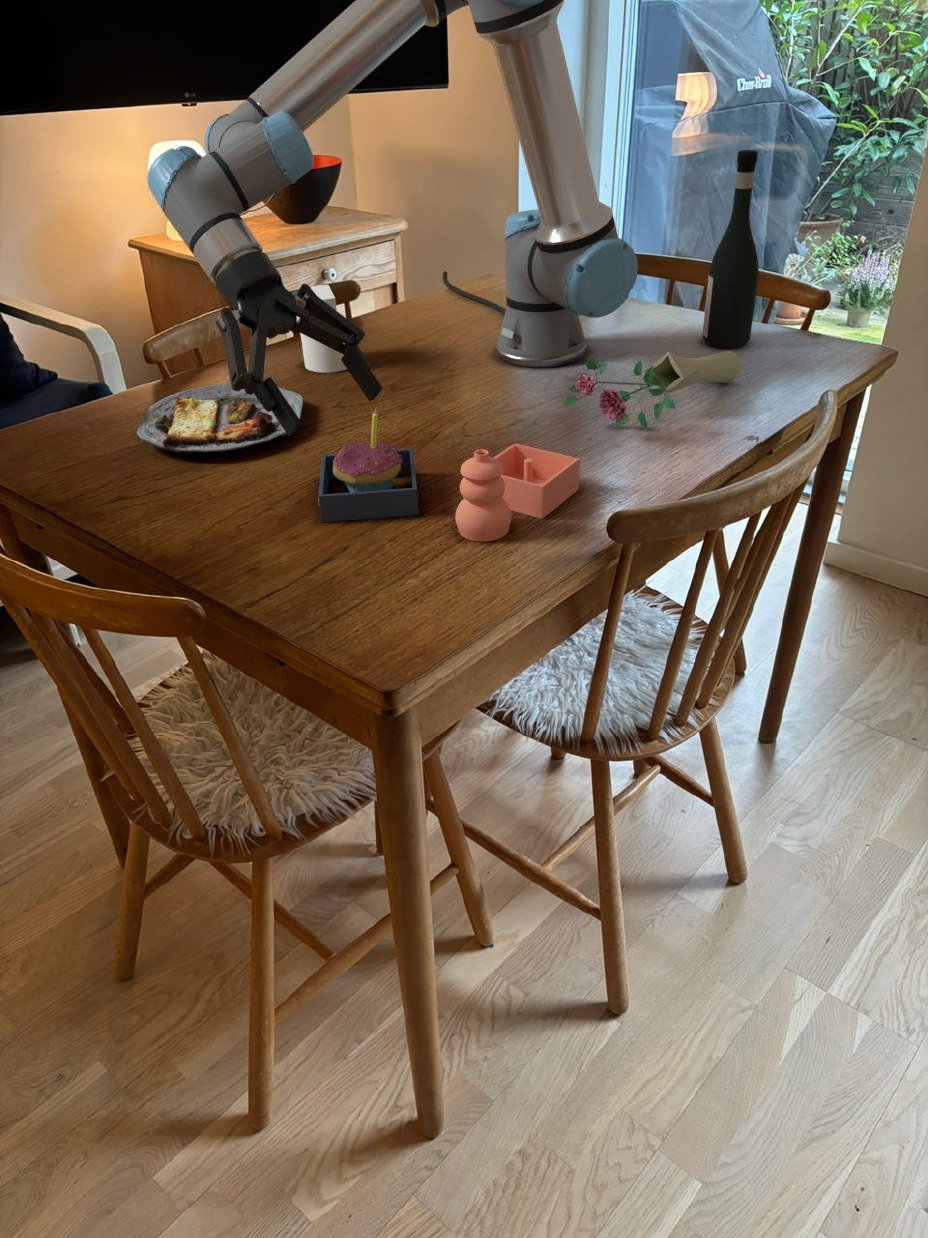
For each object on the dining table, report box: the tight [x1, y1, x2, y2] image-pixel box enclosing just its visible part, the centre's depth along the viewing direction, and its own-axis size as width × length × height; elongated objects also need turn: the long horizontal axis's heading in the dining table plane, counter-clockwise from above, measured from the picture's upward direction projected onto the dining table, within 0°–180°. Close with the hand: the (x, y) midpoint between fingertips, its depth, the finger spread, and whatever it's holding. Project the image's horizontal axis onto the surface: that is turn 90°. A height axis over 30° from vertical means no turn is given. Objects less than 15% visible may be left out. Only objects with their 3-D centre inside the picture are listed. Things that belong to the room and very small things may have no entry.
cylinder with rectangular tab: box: [300, 284, 353, 374], centre depth 159 cm, size 9×9×12 cm
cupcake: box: [333, 407, 402, 493], centre depth 117 cm, size 9×8×12 cm
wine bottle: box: [702, 149, 760, 349], centre depth 155 cm, size 8×8×30 cm
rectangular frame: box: [317, 448, 420, 523], centre depth 119 cm, size 12×12×4 cm
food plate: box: [135, 382, 304, 454], centre depth 140 cm, size 25×23×4 cm
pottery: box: [454, 443, 581, 543], centre depth 113 cm, size 18×10×10 cm, turn 146°
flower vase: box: [563, 350, 742, 431], centre depth 136 cm, size 12×12×35 cm
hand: (337, 411), depth 117 cm, fingers open, 13 cm apart
